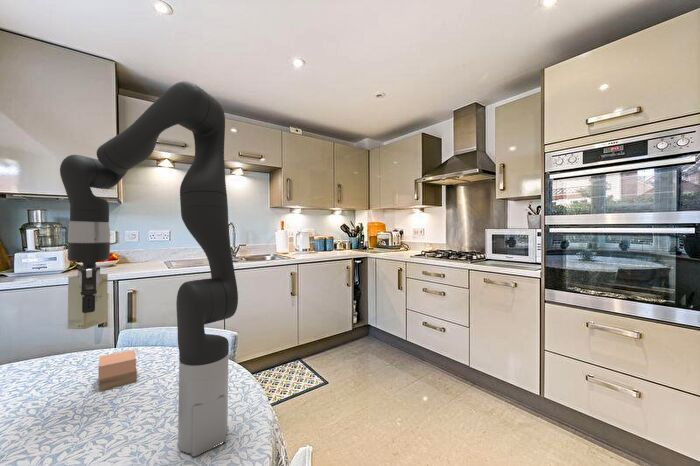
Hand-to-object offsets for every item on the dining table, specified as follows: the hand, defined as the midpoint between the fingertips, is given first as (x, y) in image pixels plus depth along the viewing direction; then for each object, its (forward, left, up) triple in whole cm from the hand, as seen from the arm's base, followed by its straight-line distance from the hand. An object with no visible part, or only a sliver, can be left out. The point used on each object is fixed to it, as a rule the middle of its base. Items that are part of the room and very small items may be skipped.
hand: (88, 308), depth 69 cm
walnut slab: (+11, -6, -24) cm, 28 cm away
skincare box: (0, 0, -4) cm, 4 cm away
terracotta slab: (+11, -6, -21) cm, 24 cm away
